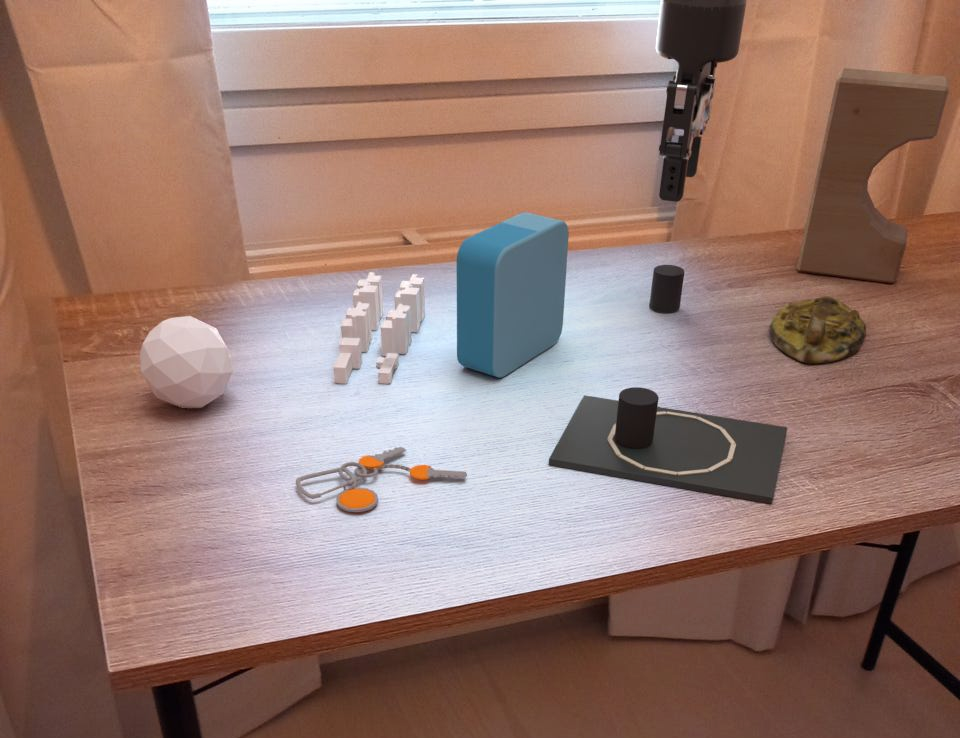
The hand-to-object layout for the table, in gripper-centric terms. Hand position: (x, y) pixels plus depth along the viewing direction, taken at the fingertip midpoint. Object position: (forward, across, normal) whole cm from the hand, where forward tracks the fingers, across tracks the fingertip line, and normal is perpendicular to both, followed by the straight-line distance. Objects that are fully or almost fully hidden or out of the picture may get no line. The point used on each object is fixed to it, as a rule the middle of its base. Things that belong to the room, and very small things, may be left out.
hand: (677, 187), depth 101 cm
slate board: (+12, -30, -6) cm, 33 cm away
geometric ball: (+13, -35, +36) cm, 52 cm away
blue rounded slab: (+13, -17, +12) cm, 24 cm away
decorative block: (+12, +18, -18) cm, 29 cm away
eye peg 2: (+12, 0, 0) cm, 12 cm away
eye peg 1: (+12, -30, -3) cm, 32 cm away
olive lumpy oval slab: (+12, -2, -16) cm, 20 cm away
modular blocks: (+13, -18, +25) cm, 34 cm away
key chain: (+12, -42, +15) cm, 47 cm away
